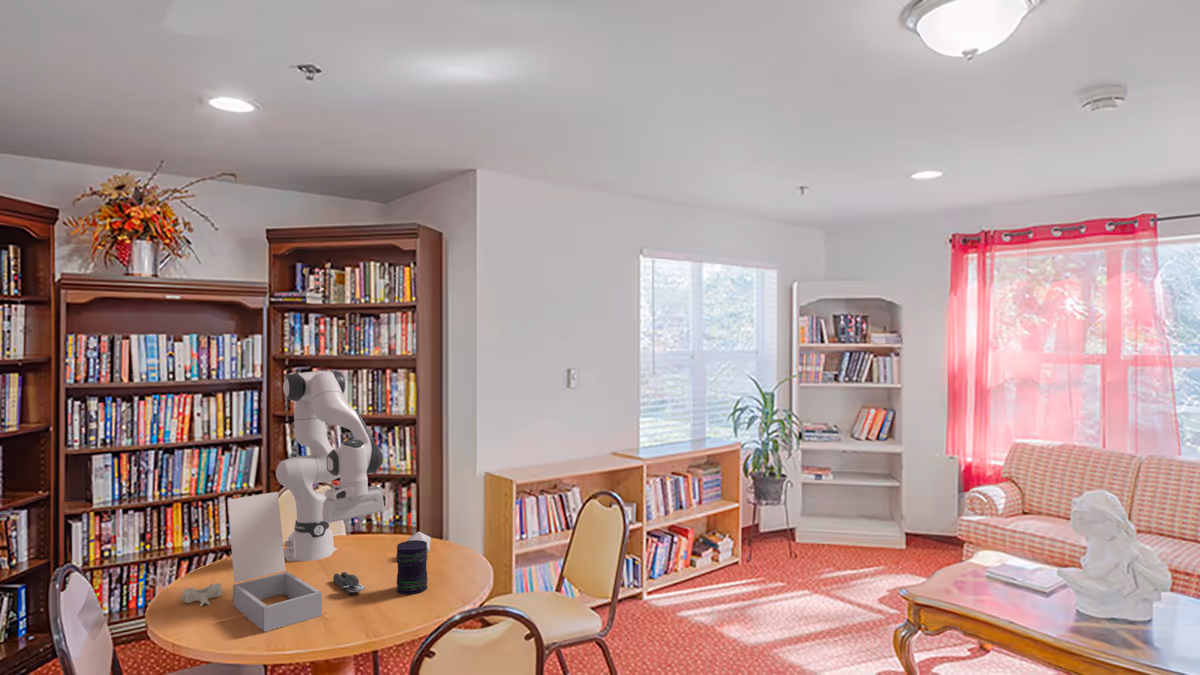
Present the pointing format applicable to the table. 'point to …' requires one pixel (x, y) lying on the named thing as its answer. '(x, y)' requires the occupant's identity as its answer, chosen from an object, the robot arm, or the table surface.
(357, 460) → the robot arm
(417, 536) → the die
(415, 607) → the table surface
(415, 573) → the dark blue barrel
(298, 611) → the duct
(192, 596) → the spine bone
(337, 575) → the can opener
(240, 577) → the lid
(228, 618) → the table surface
